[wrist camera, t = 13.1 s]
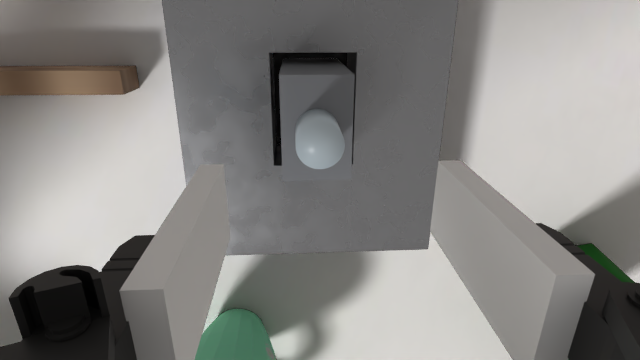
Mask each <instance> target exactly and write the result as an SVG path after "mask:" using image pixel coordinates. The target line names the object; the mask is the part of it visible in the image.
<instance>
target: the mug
mask: <svg viewBox="0 0 640 360" xmlns="http://www.w3.org/2000/svg"><path fill="white" fill-rule="evenodd" d="M195 360H277V359H276V356H275V353H274V350H273V347H272V344H271V342H270V339H269V337H268V334H267V332H266V330H265V328H264V326H263V323H262V321H261V319H260V318H259V317H258V316H257V315H256V314H255V313H253V312H251V311H249V310H245V309H231V310H227V311H225V312H223V313H222V314H220V315H219V316H218V317H217V318H216V319H215V320H214V321H213V322H212V324H211V325H210V326H209V327H208V328H207V329H206V330H205V332H204V333H203V334H202V336H201V339H200V343H199V346H198V349H197V353H196V356H195Z"/></svg>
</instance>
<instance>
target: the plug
mask: <svg viewBox="0 0 640 360" xmlns="http://www.w3.org/2000/svg"><path fill="white" fill-rule="evenodd" d="M354 80H355V74H353V73H352V72H351V71H350V70H349V69H348V68H347V67H346V66H345V65H343V64H342V63H341V62H340V61H339V60H338V59H337V58H283V62H282V65H281V69H280V73H279V92H280V121H281V150H282V179H283V181H309V180H351V166H352V137H353V108H354Z"/></svg>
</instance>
